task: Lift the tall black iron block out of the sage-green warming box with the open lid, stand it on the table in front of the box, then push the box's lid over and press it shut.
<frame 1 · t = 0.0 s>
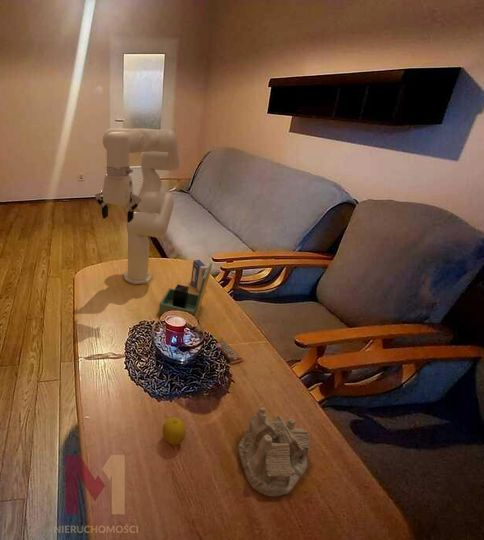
hand: (117, 219, 126), 37 cm above the table, tool pointing down, fingers open, 9 cm apart
lemon: (172, 442, 88), on the table
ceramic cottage: (273, 463, 83), on the table
walkman: (197, 287, 153), on the table
chocolate bar: (226, 352, 116), on the table
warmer: (180, 311, 137), on the table
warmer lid: (203, 286, 128), point 13 cm above the table, hinge at 95.0°
iron block: (179, 309, 137), point 1 cm above the table, touching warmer
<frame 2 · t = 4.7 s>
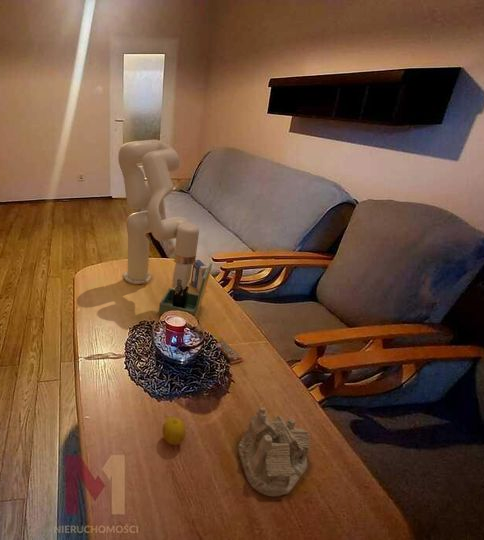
hand: (180, 299, 135), 6 cm above the table, tool pointing down, fingers closed on iron block, 4 cm apart
iron block: (179, 309, 137), point 1 cm above the table, touching gripper, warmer
everything else where it was.
when the fingers open (5 cm above the table, at t = 11.6 s): iron block stays where it is, on the table.
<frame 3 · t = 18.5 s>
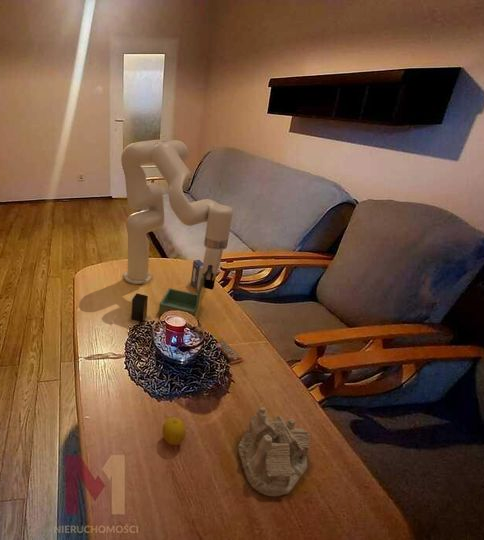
hand: (208, 287, 127), 13 cm above the table, tool pointing down, fingers closed
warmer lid: (202, 286, 128), point 13 cm above the table, hinge at 92.5°, touching gripper
iron block: (139, 319, 134), on the table
everything else where it was.
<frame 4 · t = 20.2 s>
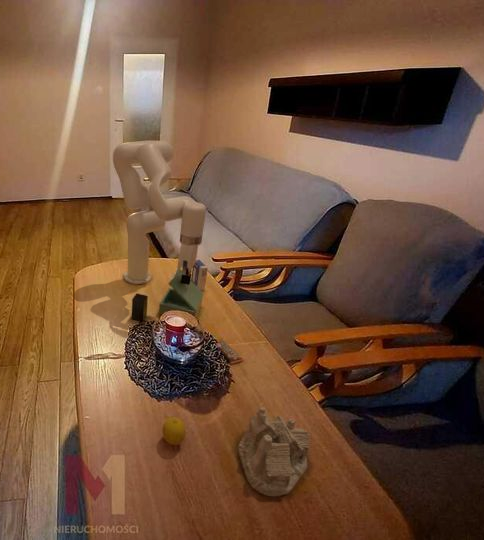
hand: (185, 282, 131), 13 cm above the table, tool pointing down, fingers closed
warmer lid: (186, 289, 132), point 11 cm above the table, hinge at 41.1°
everything else where it was.
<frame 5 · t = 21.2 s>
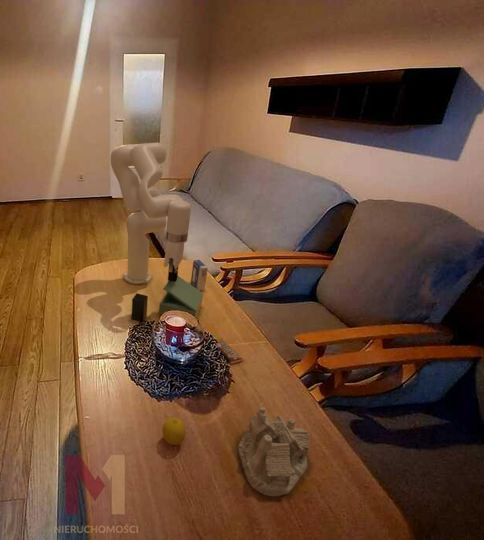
hand: (172, 280, 133), 13 cm above the table, tool pointing down, fingers closed
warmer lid: (183, 291, 133), point 10 cm above the table, hinge at 28.0°
everything else where it was.
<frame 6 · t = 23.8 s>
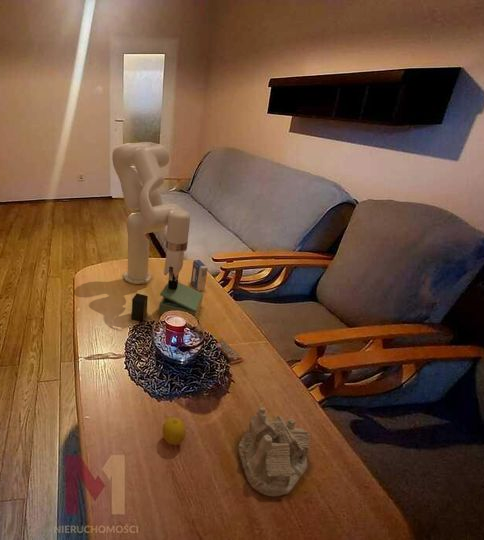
hand: (172, 288, 134), 10 cm above the table, tool pointing down, fingers closed
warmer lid: (182, 294, 133), point 8 cm above the table, hinge at 15.2°, touching gripper
everything else where it was.
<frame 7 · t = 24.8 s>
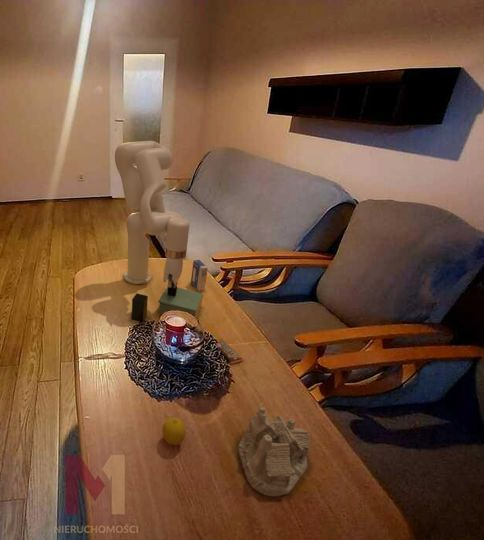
hand: (171, 294, 136), 7 cm above the table, tool pointing down, fingers closed
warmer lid: (180, 297, 134), point 6 cm above the table, hinge at 1.2°, touching gripper
everything else where it was.
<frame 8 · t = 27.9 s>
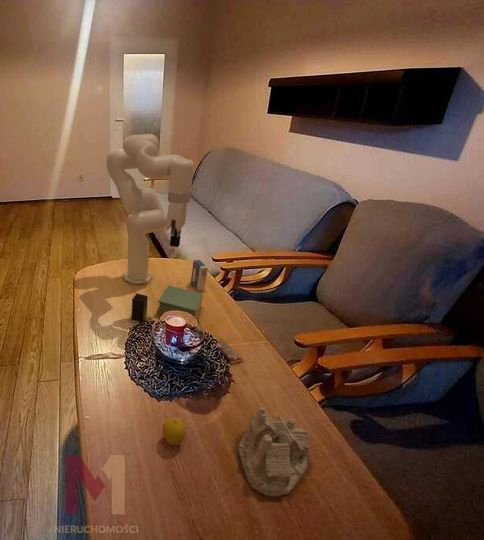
hand: (174, 245, 128), 27 cm above the table, tool pointing down, fingers closed
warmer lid: (180, 298, 134), point 6 cm above the table, hinge at 1.2°
everything else where it was.
at the end: iron block inside the target area (0.1 cm from its centre), on the table; iron block tilted 0°; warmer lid at +1° (first picture: +95°) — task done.
